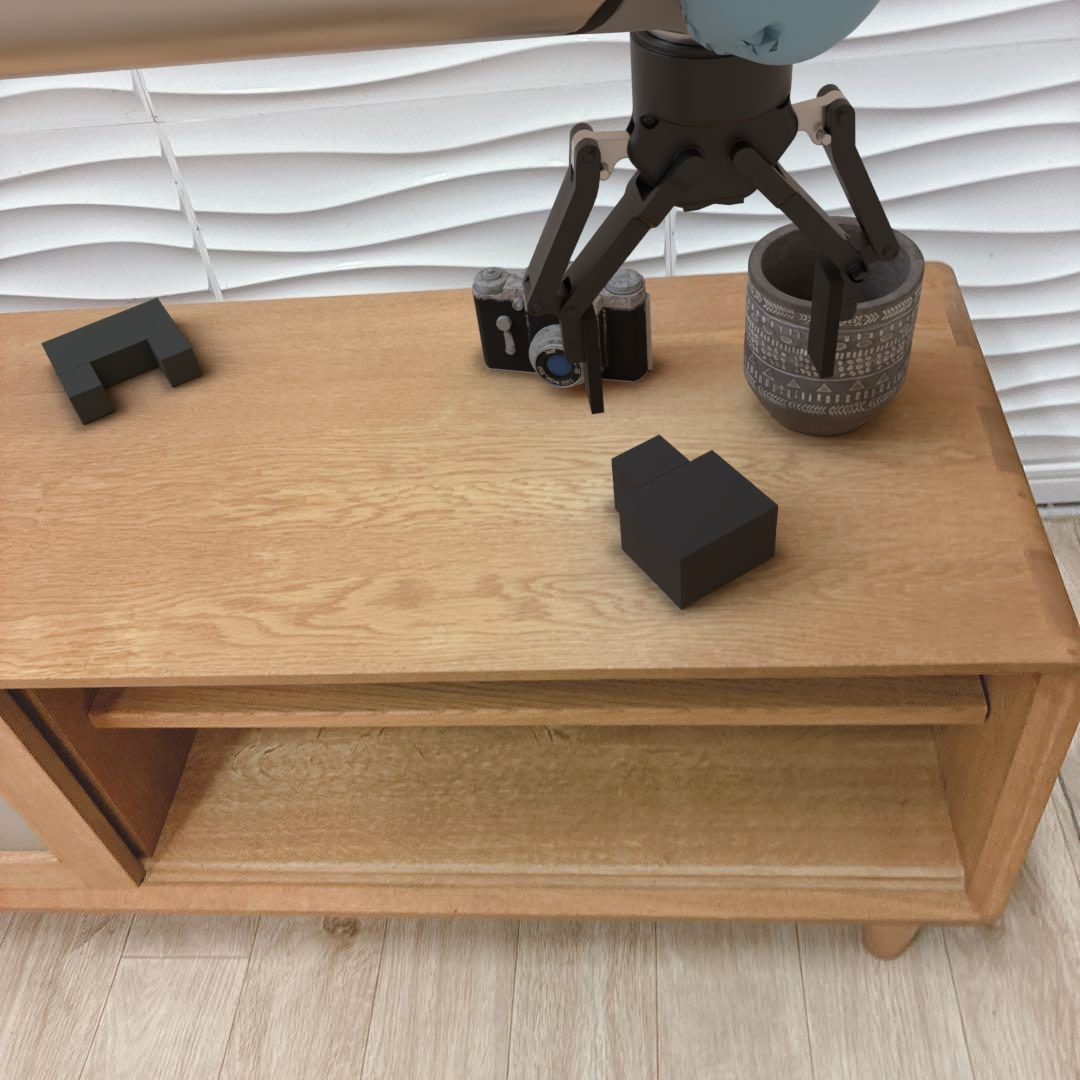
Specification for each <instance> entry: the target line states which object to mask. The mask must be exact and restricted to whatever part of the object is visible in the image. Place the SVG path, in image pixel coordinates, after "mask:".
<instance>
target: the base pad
mask: <svg viewBox="0 0 1080 1080" xmlns="http://www.w3.org/2000/svg"><path fill="white" fill-rule="evenodd" d="M41 347H42V349H43V351H44V352H45V355H46V356H47V358H48V360H49V362H50V363H51V366H52V369H53V370H54V372H55V374H56V376H57V378H58V380H59V382H60V385H61V386H62V387H63V390H64V392H65V394H66V395H67V397H68V400H69V401H70V404H71V405H72V408H73V409H74V411H75V413H76V415H77V416H78V418H79V420H80V422H81V424H82V425H86V424H89V423H92V422H93V421H96V420H98V419H100V418H102V417H105V416H109V415H110V414H112V413H115V412H116V410H115V407H114V405H113V403H112V401H111V399H110V397H109V396H108V393H107V391H106V388H108V387H111V386H114V385H117V384H118V383H121V382H123V381H125V380H128V379H130V378H133V377H135V376H138V375H140V374H143V373H145V372H147V371H150V370H152V369H154V368H157V367H158V368H159V369H160V370H161V372H162V374H163V375H164V377H165V379H166V380H167V381H168V384H170V387H171V388H174V387H177V386H179V385H181V384H184V383H187V382H189V381H191V380H193V379H196V378H198V377H200V376H203V375H204V373H203V371H202V369H201V366H200V363H199V361H198V358H197V356H196V353H195V351H194V349H193V346H192V345H191V344H190V343H189V341H188V340H187V338H186V337H185V335H184V334H183V333H182V331H181V330H180V328H179V326H178V325H177V324H176V322H175V320H174V319H173V317H172V316H171V315H170V313H169V312H168V310H167V309H166V308H165V306H164V305H163V303H162V302H161V301H160V299H159V298H158V297H155V298H153V299H150V300H147V301H145V302H142V303H139V304H137V305H135V306H132V307H130V308H127V309H125V310H124V309H123V310H122V311H119V312H117V313H114V314H112V315H109V316H107V317H104V318H102V319H101V318H100V319H99V320H96V321H94V322H91V323H89V324H86V325H83V326H81V327H78V328H76V329H73V330H70V331H68V332H66V333H63V334H61V335H58V336H55V337H53V338H50V339H48V340H45V341H42V342H41Z"/></svg>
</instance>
